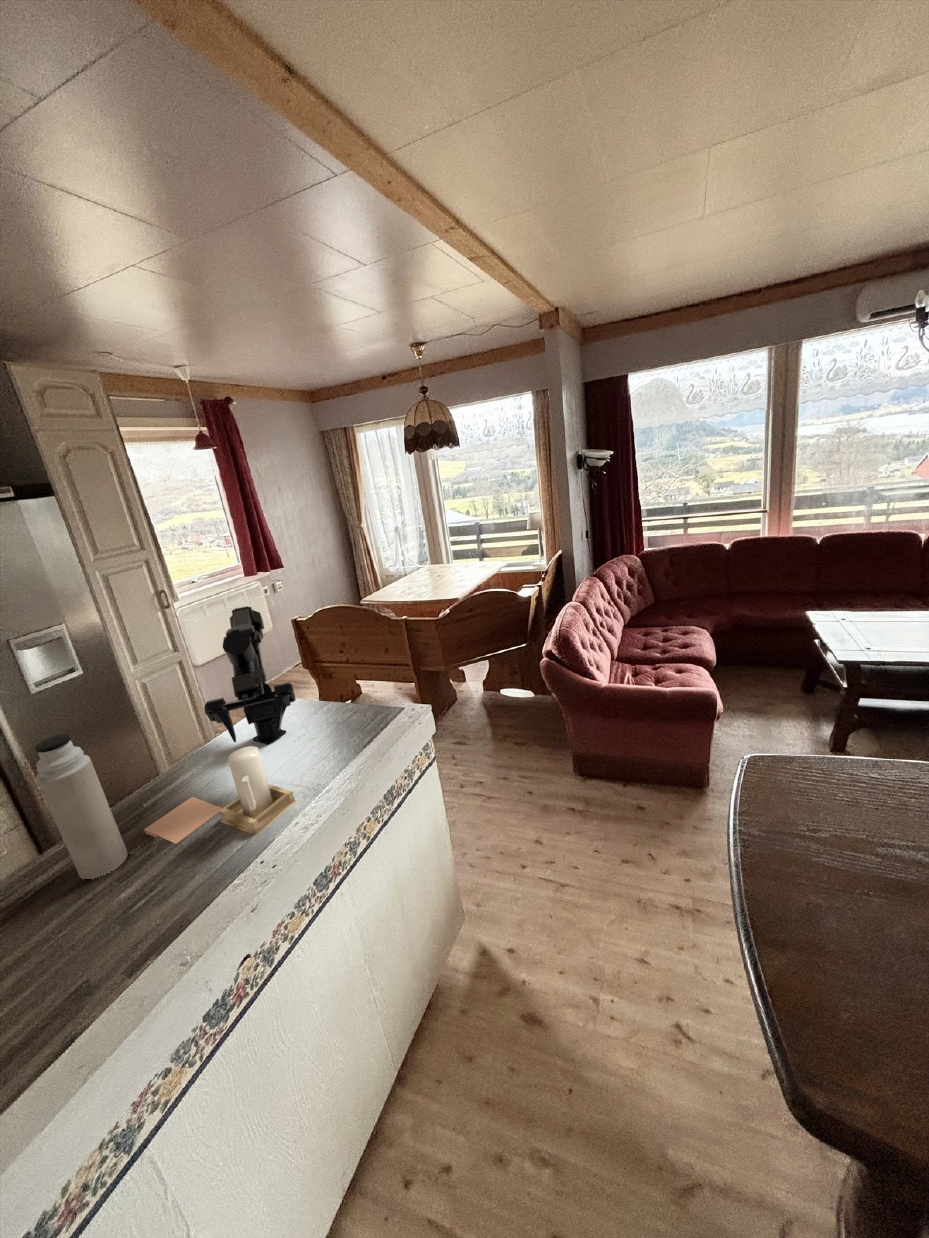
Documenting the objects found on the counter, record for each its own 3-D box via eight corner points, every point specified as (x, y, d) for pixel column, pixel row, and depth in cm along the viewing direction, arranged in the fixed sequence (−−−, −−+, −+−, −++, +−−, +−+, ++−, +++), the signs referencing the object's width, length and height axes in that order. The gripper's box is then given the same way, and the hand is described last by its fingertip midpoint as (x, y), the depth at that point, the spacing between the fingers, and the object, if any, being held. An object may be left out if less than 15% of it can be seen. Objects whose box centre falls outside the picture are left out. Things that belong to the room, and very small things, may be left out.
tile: (145, 833, 104) (144, 829, 104) (193, 800, 113) (191, 796, 113) (177, 847, 99) (175, 843, 99) (224, 812, 108) (223, 808, 108)
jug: (245, 805, 108) (230, 750, 104) (274, 798, 110) (260, 743, 105) (241, 830, 101) (224, 772, 96) (272, 821, 102) (256, 764, 98)
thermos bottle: (101, 848, 101) (52, 729, 92) (137, 847, 100) (90, 727, 91) (68, 880, 94) (11, 753, 85) (106, 880, 93) (52, 752, 84)
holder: (220, 824, 104) (216, 811, 103) (263, 792, 114) (259, 779, 113) (257, 839, 99) (253, 825, 98) (298, 803, 108) (295, 790, 107)
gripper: (194, 668, 107) (201, 734, 100) (283, 649, 113) (296, 710, 106) (208, 690, 117) (214, 752, 109) (290, 671, 123) (301, 729, 115)
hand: (257, 735), depth 110 cm, fingers open, 9 cm apart
